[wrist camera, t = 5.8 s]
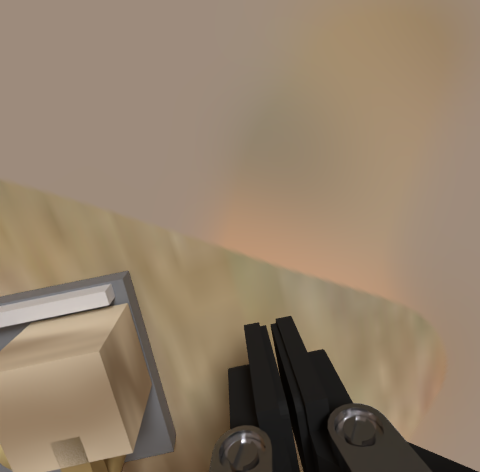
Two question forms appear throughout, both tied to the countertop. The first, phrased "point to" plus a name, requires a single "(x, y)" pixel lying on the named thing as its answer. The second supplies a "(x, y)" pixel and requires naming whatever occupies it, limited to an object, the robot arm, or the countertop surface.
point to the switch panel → (81, 300)
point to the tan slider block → (73, 392)
